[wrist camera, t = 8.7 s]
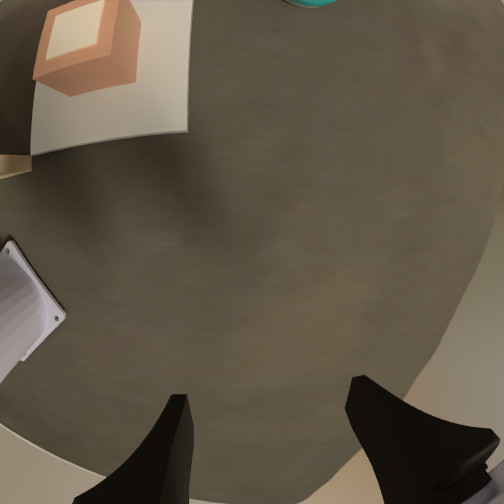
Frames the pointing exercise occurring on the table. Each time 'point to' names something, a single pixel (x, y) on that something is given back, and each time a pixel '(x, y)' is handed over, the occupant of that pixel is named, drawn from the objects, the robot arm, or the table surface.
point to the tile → (126, 89)
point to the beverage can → (310, 3)
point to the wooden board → (14, 165)
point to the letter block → (88, 46)
